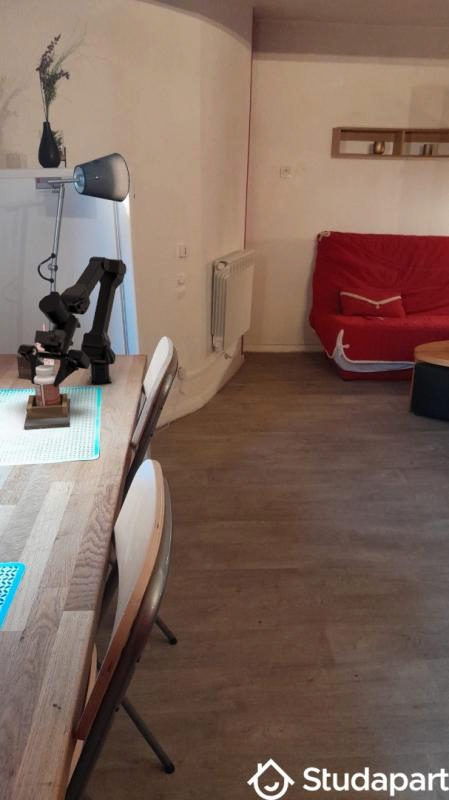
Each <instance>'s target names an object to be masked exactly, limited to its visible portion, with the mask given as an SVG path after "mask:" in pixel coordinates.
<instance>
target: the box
mask: <svg viewBox="0 0 449 800" xmlns="http://www.w3.org/2000/svg"><path fill="white" fill-rule="evenodd" d="M16 361H17V371H18V378H19V379H24V380H25V379H26V380H27V379H28V380H31V364H30V362H27V361H26V360H25V359H24V358H23V357H22V356H21V355H19V354H18V355H16ZM41 362H42V363H43V364H44V358H42V361H41Z"/></svg>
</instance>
